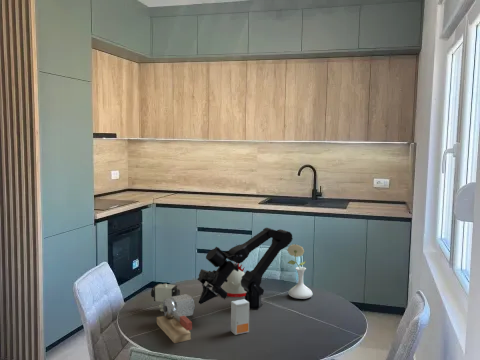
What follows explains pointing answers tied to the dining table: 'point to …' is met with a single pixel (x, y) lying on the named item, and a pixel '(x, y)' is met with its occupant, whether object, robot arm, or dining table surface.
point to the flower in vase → (299, 289)
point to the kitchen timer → (235, 283)
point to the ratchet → (175, 313)
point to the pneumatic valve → (164, 293)
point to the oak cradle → (173, 329)
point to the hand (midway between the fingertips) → (199, 303)
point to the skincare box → (240, 316)
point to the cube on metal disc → (184, 304)
